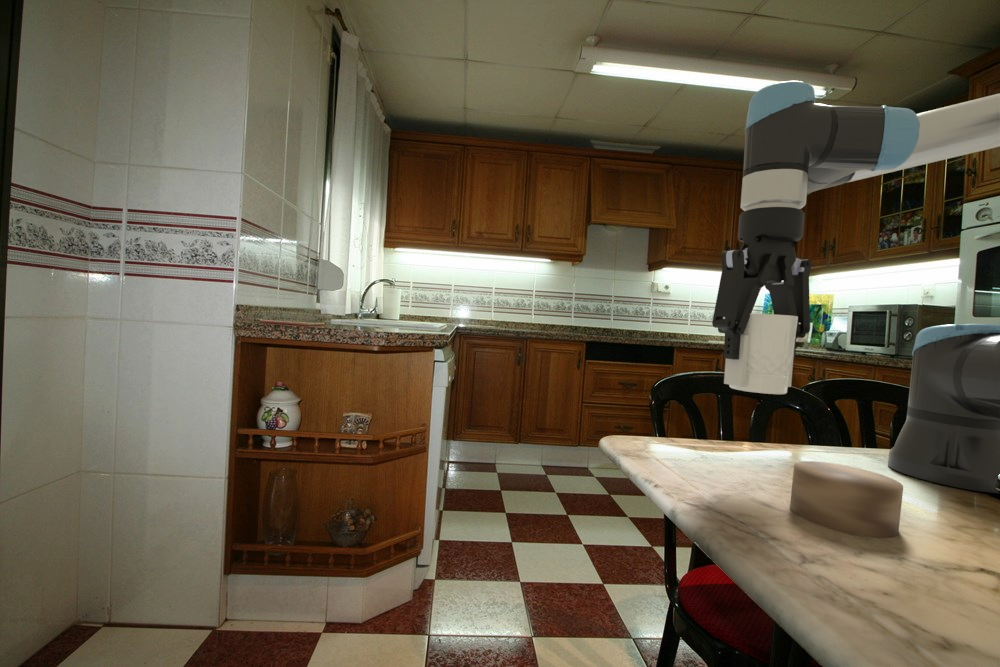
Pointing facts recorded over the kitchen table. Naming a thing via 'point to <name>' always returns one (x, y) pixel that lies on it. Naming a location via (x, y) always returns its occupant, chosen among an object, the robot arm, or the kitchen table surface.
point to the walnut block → (847, 499)
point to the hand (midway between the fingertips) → (757, 385)
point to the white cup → (769, 352)
